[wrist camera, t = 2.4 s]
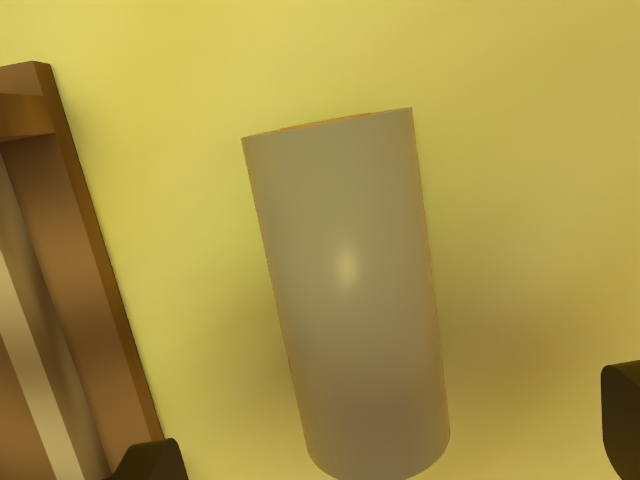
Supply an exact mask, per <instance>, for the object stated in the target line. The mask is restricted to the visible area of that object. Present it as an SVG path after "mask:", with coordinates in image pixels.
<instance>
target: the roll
mask: <svg viewBox="0 0 640 480" xmlns="http://www.w3.org/2000/svg"><path fill="white" fill-rule="evenodd" d="M241 141H242V146H243V151H244V155H245V160H246V165H247V169H248V174H249V179H250V183H251V188H252V193H253V197H254V202H255V207H256V211H257V216H258V221H259V225H260V230H261V235H262V239H263V244H264V249H265V253H266V258H267V263H268V267H269V272H270V277H271V282H272V286H273V291H274V296H275V300H276V305H277V310H278V314H279V319H280V324H281V328H282V333H283V338H284V342H285V347H286V352H287V356H288V361H289V366H290V370H291V375H292V380H293V384H294V389H295V394H296V398H297V403H298V408H299V412H300V417H301V422H302V426H303V431H304V436H305V440H306V445H307V450H308V453H309V455H310V457H311V459H312V460H313V462H314V463H315V464H316V465H317V466H318V467H319V468H320V469H321V470H322V471H324V472H325V473H327V474H328V475H330V476H332V477H334V478H337V479H339V480H405V479H407V478H410V477H412V476H415V475H417V474H418V473H420V472H422V471H424V470H425V469H427V468H428V467H430V466H431V465H432V464H433V463H434V462H436V461H437V460H438V459H439V457H440V456H441V455H442V454H443V452H444V450H445V449H446V447H447V445H448V442H449V438H450V423H449V415H448V407H447V398H446V390H445V382H444V373H443V365H442V356H441V348H440V340H439V331H438V323H437V315H436V306H435V298H434V289H433V281H432V273H431V264H430V256H429V248H428V239H427V231H426V222H425V214H424V206H423V197H422V189H421V181H420V172H419V164H418V156H417V147H416V139H415V130H414V122H413V114H412V108H402V109H396V110H389V111H383V112H377V113H366V114H360V115H354V116H348V117H342V118H336V119H331V120H325V121H320V122H314V123H309V124H303V125H298V126H293V127H288V128H283V129H280V130H277V131H272V132H267V133H262V134H257V135H252V136H247V137H243V138H241Z"/></svg>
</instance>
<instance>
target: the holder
mask: <svg viewBox="0 0 640 480" xmlns="http://www.w3.org/2000/svg"><path fill="white" fill-rule="evenodd" d="M162 439H164V437H163V434H162V431H161V428H160V424H159V421H158V418H157V414H156V411H155V408H154V405H153V401H152V398H151V395H150V392H149V388H148V385H147V382H146V378H145V375H144V372H143V369H142V365H141V362H140V359H139V356H138V352H137V349H136V346H135V342H134V339H133V336H132V333H131V329H130V326H129V323H128V320H127V316H126V313H125V310H124V306H123V303H122V300H121V297H120V293H119V290H118V287H117V284H116V280H115V277H114V274H113V270H112V267H111V264H110V261H109V257H108V254H107V251H106V247H105V244H104V241H103V238H102V234H101V231H100V228H99V225H98V221H97V218H96V215H95V211H94V208H93V205H92V202H91V198H90V195H89V192H88V189H87V185H86V182H85V179H84V175H83V172H82V169H81V166H80V162H79V159H78V156H77V153H76V149H75V146H74V143H73V139H72V136H71V133H70V130H69V126H68V123H67V120H66V117H65V113H64V110H63V107H62V103H61V100H60V97H59V94H58V90H57V87H56V84H55V81H54V77H53V74H52V71H51V67H50V64H47V63H42V62H37V61H28V62H23V63H18V64H12V65H7V66H2V67H0V480H102V479H104V478H110V477H112V476H113V474H114V472H115V471H116V469H117V467H118V465H119V463H120V462H121V460H122V458H123V456H124V455H125V453H126V451H127V449H128V448H129V447H130V446H131V445H133V444H138V443H144V442H150V441H156V440H162Z"/></svg>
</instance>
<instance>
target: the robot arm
mask: <svg viewBox="0 0 640 480" xmlns="http://www.w3.org/2000/svg"><path fill="white" fill-rule="evenodd" d="M601 402H602V430H603V442H604V447H605V450H606V453H607V456H608V458H609V460H610V462H611V464H612V466H613V468H614V470H615V471H616V472H617V474H618V475H619V476H620V478H621V479H622V480H640V360H637V361H631V362H625V363H619V364H613V365H607V366H605V367H604V368H603V369H602V372H601ZM102 480H189V479H188V476H187V472H186V469H185V465H184V462H183V459H182V455H181V452H180V449H179V446H178V444H177V442H176V440H175V439H173V438H168V439H162V440H156V441H150V442H144V443H138V444H133V445H131V446H130V447H129V448H128V449H127V451H126V453H125V455H124V456H123V458H122V460H121V462H120V463H119V465H118V467H117V469H116V471H115V472H114V474H113V476H112V477H110V478H104V479H102Z"/></svg>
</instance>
